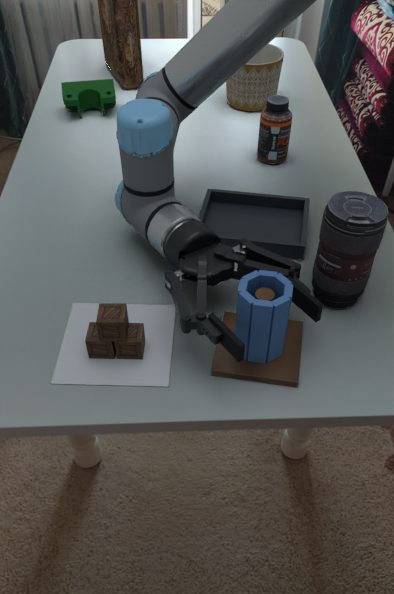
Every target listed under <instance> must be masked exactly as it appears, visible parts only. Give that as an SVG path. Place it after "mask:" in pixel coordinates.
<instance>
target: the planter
mask: <svg viewBox="0 0 394 594" xmlns="http://www.w3.org/2000/svg"><path fill="white" fill-rule="evenodd" d="M284 57H285V51H284V50H283V49H282V48H280V47H279V46H277V45H274V44H272V43H268V44H267V45H266V46H265V47H264V48H263V49H262V50H261V51H260V52H258V53H257V54H256V55H255V56H254V57H253V58H252V59H251V60H250V61H248V62H247V63H246V64H245V65H244V66H243V67H242V68H241V69H240V70H238V71H237V72H236V73H235V74H234V75H233V76H232V77H231V78H229V79H228V80H227V81H226V82H225V93H226V100H227V103H229V105H230V106H231V107H232V108H234V109H236V110H239V111H242V112H243V111H244V112H262V110H263V109H264V108H266V107H267V106H266V104H267V98H268V97H270V96H273V95H278V89H279V84H280V78H281V73H282V67H283V62H284Z"/></svg>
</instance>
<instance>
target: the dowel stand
mask: <svg viewBox="0 0 394 594" xmlns="http://www.w3.org/2000/svg"><path fill="white" fill-rule="evenodd" d="M255 299H258V300H267V301H273V300H274V299H275V293H274V291H273V290H271V289H269V288H259V289H258V290H256V292H255ZM221 321H222V322H223V323H224V324H225V325H226V326H227V327H228V328H229V329H230V330H231V331H232V332H233V333H234V334H235V326H236V312H233V311H224V312H223V315H222V319H221ZM303 330H304V320H298V319H297V320H296V319H290V318H289V319H288V325H287V331H286V337H285V343H284V350H283V354H282V355H281V356H280V357H278V358H276V359H274V360H273V361H271V362H269V363H267V362H266V363H265V364H264V363H257V362H249V361H248V359H247V360H245V359H244V360H243V361H241V362H239V363H238V361H237V360H236V359H235V358H234V357H233V356H232V355H231V354H230V353H229V352H228V351H227V350H226V349H225V348H224V347H223V346H222V345H221V343H218V344H216V347H215V351H214V357H213V360H212V366H211V372H210V373H211V374H210V375H211V376H215V377H222V378H227V379H237V380H244V381H250V382H251V381H252V382H257V383H265V384H272V385H279V386H284V387H285V386H287V387H294V388H299V387H298V386H299V381H300V368H301V367H300V366H301V358H302V357H301V355H302V354H301V353H302V342H303V332H304V331H303Z"/></svg>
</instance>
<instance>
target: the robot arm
mask: <svg viewBox="0 0 394 594" xmlns="http://www.w3.org/2000/svg"><path fill="white" fill-rule="evenodd" d="M316 1H317V0H228V1H227V2H226V3H225V4H224V5H223V6H222V7H221V8H220V9H219V10H218V11H217V12H216V13H215V14H214V15H213V16H212V17H211V18H210V19H209V20H208V21H207V22H206V23H205V24H204V25H203V26H202V27H201V28H200V29H199V30H198V31H197V32H196V33H195V34H194V35H193V36H192V37H191V38H190V39H189V40H188V41H187V42H186V43H185V44H184V45H183V46H182V48H180V49H179V50H178V51H177V52H176V53H175V55H173V57H171V58H170V59H169V60H168V61H167V62H166V63H165V65H164V66H163V67H161V69H159V71H155V72H152V73H150V74H149V75H147V77H146V78H144V81H143V83H142V84H141V86H140V87H139V88H138V89H137V92H136V94H135V98H136V99H135V98H134V99H135V100H134V99H131V100H129V101H127V102H125V104H122V105H121V106H120V107H119V108H118V110H117V111H116V117H115V118H116V119H115V120H116V132H115V134H116V135H115V136H116V140H117V144H118V151H119V158H120V166H121V173H122V180H121V181H120V182H119V184H118V185H117V190H116V192H115V195H114V203H115V206H116V209H117V210H118V212H119V213H120V215H122V217H123V219H125V222H126V223H127V224H128V225H129V226H131V227H132V228H133V229H134V230H135V231H136V232H137V233H138V234H139V235H141V237H142V238H143V239H145V241H146V242H147V243H149V245H151V246H152V248H153V249H155V250H156V251H157V252H158V253H159V254H160V255H161V256H162V257H163V258H164V259H165V260H166V262H167V263H168V264H170V266H171V267H172V268H173V269H174V270H175V271H173V270H172V269H165V270H164V271H163V281H164V288H165V289H166V291H167V292H168V293H169V294H170V295H171V298H172V301H173V305H175V309H176V311H175V314H176V315H177V319H178V323H179V327H180V329H181V330H180V331H181V332H182V333H183V334H186V335H187V334H190V333H191V332H192V331H194V330H196V331H195V332H196V334H197V335H199V336H205V337H206V338H207V340H209V341H210V342H211V343H212V344H214V345H215V346H217V344H218V343H221V345H222V346H223V347H224V348H225V349H226V350H227V351H228V352H229V353H230V354H231V355H232V356H233V357H234V358H235V359H236V360H237V361H238V363H239V362H241V361H243V360H244V351H245V344H244V343H243V342H242V341H241V340H240V339H239V338H238V337H237V336H236V335H235V334H234V333H233V332H232V331H231V330H230V329H229V328H228V327H227V326H226V325H225V324H224V323H223V322H222V319H221V318H220V317H219V316H218V315H217V314H215V312H213V311H212V312H211V313H208V314H207V298H208V297H207V296H208V295H207V294H208V288H207V287H212V288H213V287H216V286H218V285H219V284H222V283H223V282H227V281H229V280H236V281H240V279H242V277H243V276H245V275H247V274H249V273H251V272H254V271H256V270H257V271H258V272H259V270H265V271H274V272H278V273H277V274H279V273H281V274H282V275H283V276H285V277H286V278H287V279H288V280H290V281H291V282H292V285H293V293H292V301H291V303H293V305H295V306H296V307H297V308H298V309H299V310H301V311H302V312H303V313H304V314H305V315H306V316H307V317H308V318H309V319H311V320H312V321H313V322H315V323H318V322H320V321H321V319H322V314H323V309H324V305H323V304H322V303H321V302H320V301H319V300H318V299H316V298H315V297H314V295H312V294H313V293H311V289H310V287H309V286H308V285H306V284H305V283H304V282H303V281H301V280H300V275H301V271H302V263H300V262H297V261H294V259H291V258H285V257H283V256H280V255H278V254H276V253H273V252H271V251H268V250H266V249H263V248H261V247H258V246H256V245H254V244H253V243H252V242H251V241H249V240H248V239H246V238H242V239H240V245H237V246H235V247H233V248H232V247H230V246H226V245H224V244H223V243H222V242H221V240H220V239H219V237H218V236H217V234H216V233H215V232H213V231H212V230H211V229H210V228H209V227H208V226H206V225H205V224H204V223H203V222H202V221H201V220H200V219H199V218H198V217H199V216H197V215H195V214H194V213H193V212H192V211H191V210H189V208H187V207H186V206H185V204H183V203H181V202H180V201H179V200H178V199H177V198H176V195H175V194H176V192H175V168H174V167H175V166H174V165H175V164H174V163H175V162H174V154H175V153H174V152H175V146H176V143H177V138H178V134H179V130H180V126H181V124H182V122H183V121H185V120H186V119H187V118H188V117H189V116H190V115H192V113H193V112H195V111H196V110H197V109H198V108H199V107H200V106H201V105H202V104H203V103H204V102H205V101H206V100H208V98H210V96H211V95H213V94H214V93H215V92H216V91H217V90H219V89H220V88H221V87H222V86H223V85H225V84H226V81H227V80H228V79H229V78H231V77H232V76H233V75H234V74H235V73H236V72H237V71H238V70H240V69H241V68H242V67H243V66H244V65H245V64H246V63H247V62H248V61H250V60H251V59H252V58H253V57H254V56H255V55H256V54H257V53H258V52H260V51H261V50H262V49H263V48H264V47H265V46H266V45H267V44H271V42H272V41H273V40H274V39H275V38H276V37H278V36H279V35H280V34H281V33H282V32H284V30H285V29H286V28H288V27H289V26H290V25H291V24H292V23H293V22H294V21H295V20H296V19H298V18H299V17H300V16H301V15H302V14H303V13H304V12H305V11H307V10H308V9H309V8H310V7H311V6H312V5H314V4H315V2H316ZM391 1H392V2H393V3H394V0H391ZM235 264H236V265H237V268H236V269H237V270H235V267H236V266H235ZM183 281H185V282H189V283H194V284H196V285H197V286H196V308H195V309H196V310H195V314H194V313H193V314H191V312H190V309H189V304H188V302H187V298H186V294H185V292H184V289H183Z"/></svg>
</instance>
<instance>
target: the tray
mask: <svg viewBox="0 0 394 594" xmlns="http://www.w3.org/2000/svg"><path fill="white" fill-rule="evenodd" d="M310 200H311V198H310V197H303V196H302V197H301V196H293V195H292V196H290V195H282V194H272V193H271V194H269V193H261V192H249V191H238V190H229V189H218V188H207V190H206V193H205V196H204V199H203V202H202V205H201V208H200V212H199V215H198V216H197V217H198V218H199V219H200V220H201V221H202V222H203V223H204V224H205V225H206V226H208V227H209V228H210V229H211V230H212V231H213V232H215V233H216V234H217V236H218V237H219V239H220V240H221V242H222V243H223V244H224V245H226V246H230V247H232V248H233V247H235V246H237V245H240V239H242V238H246V239H248V240H249V241H251V242H252V243H253V244H254V245H256V246H258V247H261V248H263V249H266V250H268V251H271V252H273V253H276V254H278V255H280V256H283V257H285V258H288V259H291V260H304V258H305V253H306V245H307V236H308V223H309V212H310Z"/></svg>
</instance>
